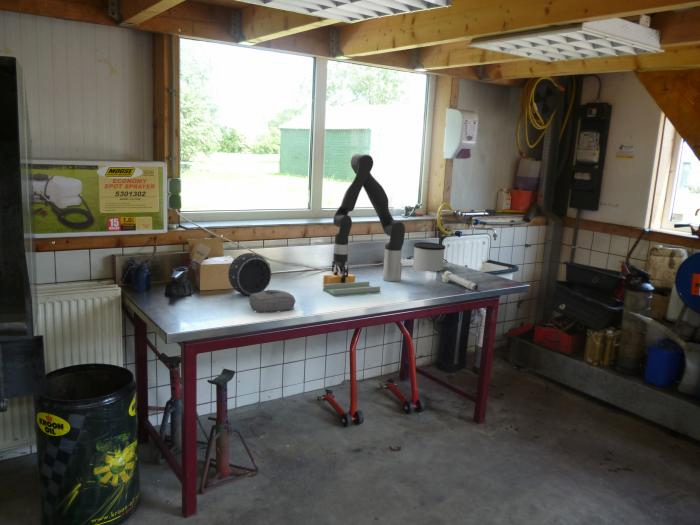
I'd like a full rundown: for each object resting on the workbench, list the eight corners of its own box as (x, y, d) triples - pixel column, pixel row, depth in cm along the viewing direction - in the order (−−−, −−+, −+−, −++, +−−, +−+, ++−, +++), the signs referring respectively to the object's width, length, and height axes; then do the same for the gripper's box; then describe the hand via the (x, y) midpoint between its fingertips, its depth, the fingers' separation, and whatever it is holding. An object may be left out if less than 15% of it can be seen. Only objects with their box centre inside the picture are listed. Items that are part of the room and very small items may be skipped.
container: (436, 273, 354) (438, 248, 351) (407, 268, 363) (409, 244, 360) (447, 268, 370) (449, 245, 367) (420, 264, 379) (421, 241, 376)
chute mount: (367, 286, 312) (368, 281, 312) (380, 292, 301) (380, 286, 300) (322, 289, 300) (323, 284, 299) (334, 296, 289) (334, 290, 288)
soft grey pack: (258, 315, 252) (300, 311, 262) (258, 296, 250) (301, 292, 260) (245, 306, 265) (287, 302, 274) (246, 288, 263) (287, 284, 273)
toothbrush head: (472, 284, 313) (441, 268, 333) (470, 296, 316) (439, 279, 335) (479, 283, 316) (448, 268, 336) (477, 295, 318) (446, 279, 338)
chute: (349, 282, 319) (350, 273, 318) (355, 285, 314) (355, 276, 313) (323, 284, 311) (323, 275, 310) (327, 287, 306) (328, 277, 305)
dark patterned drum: (273, 295, 285) (274, 254, 281) (235, 299, 273) (235, 257, 270) (263, 289, 294) (264, 250, 290) (225, 294, 282) (225, 252, 278)
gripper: (353, 254, 305) (351, 285, 308) (341, 249, 317) (339, 279, 320) (340, 255, 301) (338, 286, 304) (328, 250, 313) (326, 280, 317)
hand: (339, 282), depth 312 cm, fingers open, 8 cm apart
